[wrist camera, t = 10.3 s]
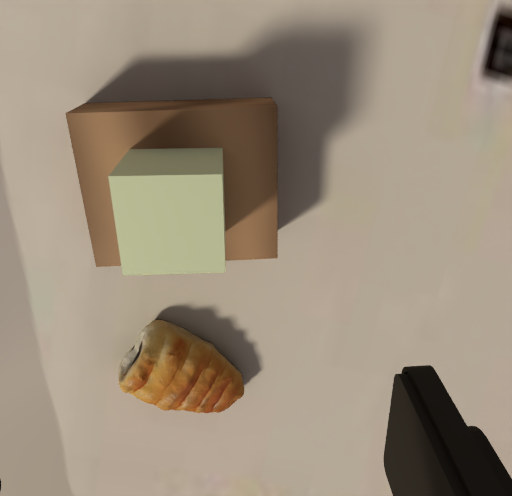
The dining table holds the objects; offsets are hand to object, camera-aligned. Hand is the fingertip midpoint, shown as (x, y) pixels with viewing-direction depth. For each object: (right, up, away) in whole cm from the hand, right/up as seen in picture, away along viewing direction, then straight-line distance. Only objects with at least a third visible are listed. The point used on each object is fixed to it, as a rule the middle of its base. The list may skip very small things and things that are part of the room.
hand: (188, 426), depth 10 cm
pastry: (-4, -5, +26) cm, 26 cm away
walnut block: (-3, +9, +19) cm, 21 cm away
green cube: (-3, +7, +15) cm, 17 cm away
